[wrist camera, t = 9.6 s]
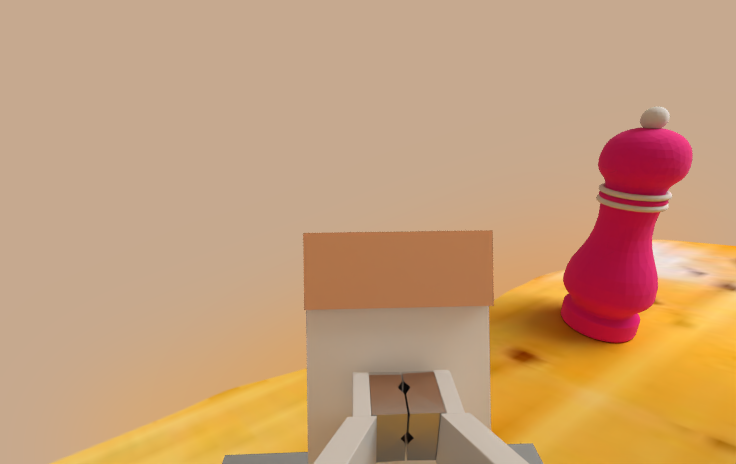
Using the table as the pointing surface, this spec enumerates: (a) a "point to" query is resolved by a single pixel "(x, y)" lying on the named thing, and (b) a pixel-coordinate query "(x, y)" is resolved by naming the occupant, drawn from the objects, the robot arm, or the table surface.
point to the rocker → (395, 317)
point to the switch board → (299, 460)
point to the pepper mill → (625, 231)
